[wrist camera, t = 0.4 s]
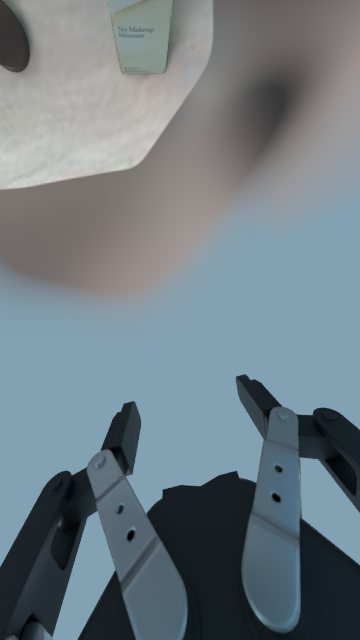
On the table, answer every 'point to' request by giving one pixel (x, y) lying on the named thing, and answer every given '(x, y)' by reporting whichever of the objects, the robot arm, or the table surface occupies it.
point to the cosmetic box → (141, 34)
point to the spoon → (12, 41)
